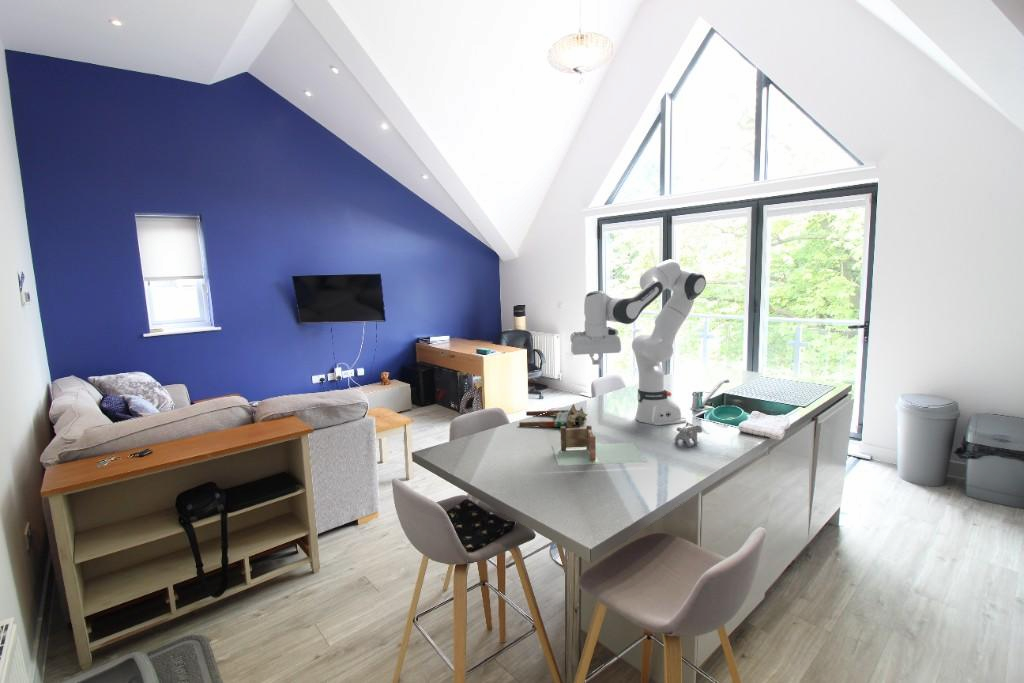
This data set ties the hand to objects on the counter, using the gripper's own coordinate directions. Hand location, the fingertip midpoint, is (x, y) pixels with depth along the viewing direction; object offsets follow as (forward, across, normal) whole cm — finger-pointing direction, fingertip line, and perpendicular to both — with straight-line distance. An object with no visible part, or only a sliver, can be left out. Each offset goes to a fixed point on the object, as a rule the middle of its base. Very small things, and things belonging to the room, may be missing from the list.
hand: (596, 364), depth 199 cm
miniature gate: (+31, -15, +24) cm, 42 cm away
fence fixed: (+30, -12, -15) cm, 36 cm away
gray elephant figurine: (+32, +34, -12) cm, 48 cm away
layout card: (+31, -5, -20) cm, 37 cm away
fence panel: (+30, -7, -22) cm, 38 cm away
